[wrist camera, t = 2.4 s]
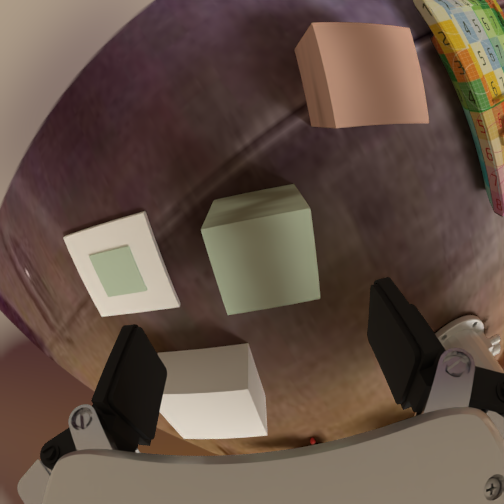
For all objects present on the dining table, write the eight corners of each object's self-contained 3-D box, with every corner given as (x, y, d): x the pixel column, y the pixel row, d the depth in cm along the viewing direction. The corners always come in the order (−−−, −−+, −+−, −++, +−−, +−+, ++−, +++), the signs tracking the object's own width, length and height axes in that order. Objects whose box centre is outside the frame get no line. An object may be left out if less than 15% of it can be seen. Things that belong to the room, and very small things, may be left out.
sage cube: (293, 183, 20) (310, 208, 14) (304, 255, 22) (320, 298, 17) (213, 199, 20) (200, 229, 15) (232, 268, 23) (227, 315, 18)
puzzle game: (508, 220, 16) (425, -9, 9) (478, 203, 20) (396, 8, 13) (556, 171, 13) (494, -13, 6) (529, 160, 18) (466, -4, 10)
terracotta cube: (370, 47, 15) (409, 28, 9) (384, 119, 17) (429, 123, 12) (294, 49, 15) (311, 22, 10) (311, 126, 18) (336, 128, 13)
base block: (248, 341, 27) (248, 389, 21) (265, 394, 31) (267, 435, 26) (158, 351, 28) (145, 394, 22) (190, 400, 32) (184, 438, 27)
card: (145, 210, 20) (142, 213, 20) (180, 303, 24) (178, 308, 24) (65, 235, 21) (62, 238, 21) (103, 313, 25) (101, 317, 25)
